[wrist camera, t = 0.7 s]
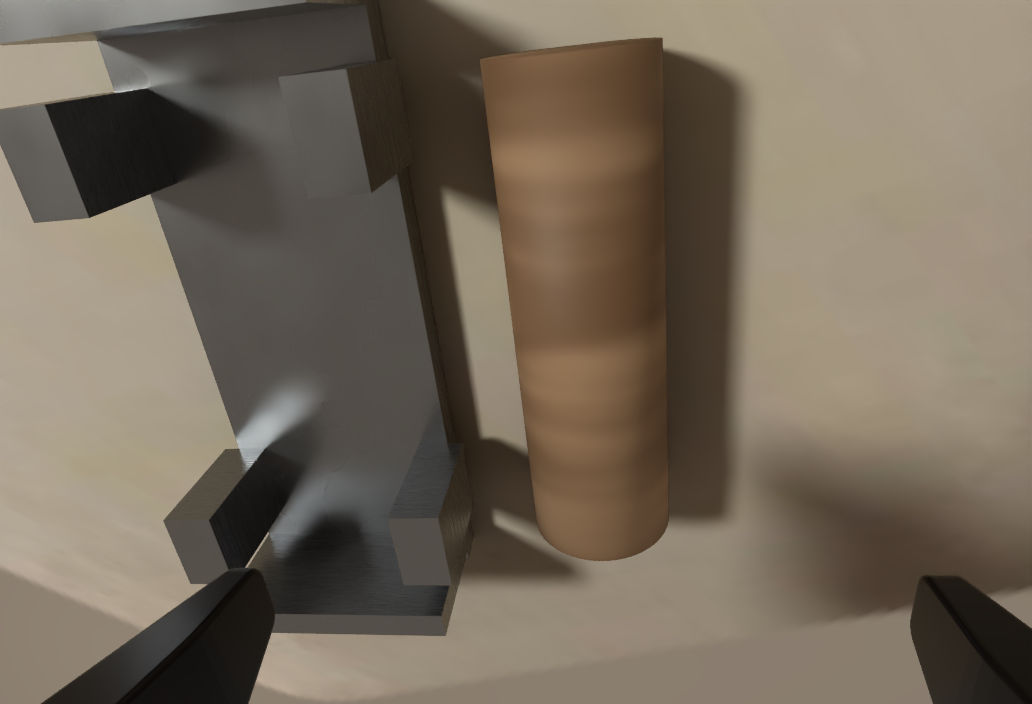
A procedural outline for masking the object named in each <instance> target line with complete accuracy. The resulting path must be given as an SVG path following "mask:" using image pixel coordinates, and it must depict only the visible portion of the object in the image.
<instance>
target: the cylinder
mask: <svg viewBox="0 0 1032 704" xmlns="http://www.w3.org/2000/svg"><path fill="white" fill-rule="evenodd" d="M480 66H481V74H482V82H483V91H484V99H485V107H486V115H487V123H488V131H489V139H490V147H491V155H492V163H493V172H494V180H495V188H496V196H497V204H498V212H499V220H500V228H501V236H502V244H503V253H504V261H505V269H506V277H507V285H508V293H509V301H510V309H511V317H512V325H513V334H514V342H515V350H516V358H517V366H518V374H519V382H520V390H521V398H522V406H523V415H524V423H525V431H526V439H527V447H528V455H529V463H530V471H531V479H532V487H533V496H534V504H535V512H536V520H537V525H538V529H539V531H540V533H541V535H542V536H543V537H544V539H545V540H546V541H547V542H548V543H549V544H550V545H551V546H553V547H554V548H556V549H557V550H559V551H561V552H563V553H565V554H567V555H570V556H573V557H576V558H580V559H585V560H593V561H611V560H618V559H623V558H627V557H631V556H634V555H636V554H639V553H641V552H643V551H645V550H646V549H648V548H650V547H651V546H652V545H654V544H655V543H656V542H657V541H658V540H659V539H660V538H661V537H662V535H663V534H664V532H665V530H666V528H667V525H668V521H669V489H668V414H667V338H666V263H665V188H664V113H663V38H640V39H628V40H617V41H607V42H598V43H590V44H581V45H573V46H564V47H556V48H547V49H539V50H531V51H524V52H517V53H511V54H504V55H498V56H493V57H487V58H483V59H480Z"/></svg>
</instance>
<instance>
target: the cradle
mask: <svg viewBox="0 0 1032 704" xmlns="http://www.w3.org/2000/svg"><path fill="white" fill-rule="evenodd" d="M78 41H97V42H98V45H99V48H100V51H101V54H102V57H103V59H104V62H105V65H106V68H107V71H108V74H109V77H110V79H111V82H112V85H113V88H114V91H115V92H110V93H102V94H95V95H88V96H82V97H75V98H69V99H62V100H56V101H50V102H43V103H37V104H30V105H24V106H17V107H11V108H4V109H0V145H1V147H2V150H3V152H4V154H5V157H6V159H7V161H8V164H9V166H10V168H11V171H12V173H13V175H14V177H15V180H16V182H17V184H18V187H19V189H20V191H21V194H22V196H23V198H24V201H25V203H26V205H27V207H28V210H29V212H30V214H31V217H32V219H33V221H34V223H38V222H49V221H60V220H72V219H83V218H90V217H93V216H96V215H98V214H101V213H103V212H106V211H108V210H111V209H113V208H116V207H118V206H121V205H123V204H126V203H129V202H131V201H134V200H136V199H139V198H141V197H144V196H146V195H149V194H151V197H152V200H153V203H154V205H155V208H156V211H157V214H158V217H159V220H160V223H161V225H162V228H163V231H164V234H165V237H166V240H167V243H168V245H169V248H170V251H171V254H172V257H173V260H174V263H175V266H176V268H177V271H178V274H179V277H180V280H181V283H182V286H183V288H184V291H185V294H186V297H187V300H188V303H189V306H190V308H191V311H192V314H193V317H194V320H195V323H196V326H197V328H198V331H199V334H200V337H201V340H202V343H203V346H204V349H205V351H206V354H207V357H208V360H209V363H210V366H211V369H212V371H213V374H214V377H215V380H216V383H217V386H218V389H219V391H220V394H221V397H222V400H223V403H224V406H225V409H226V411H227V414H228V417H229V420H230V423H231V426H232V429H233V432H234V434H235V437H236V440H237V443H238V446H239V449H225V450H224V452H223V453H222V454H221V455H220V456H219V457H218V458H217V460H216V461H215V462H214V463H213V464H212V465H211V466H210V468H209V469H208V470H207V471H206V472H205V473H204V475H203V476H202V477H201V478H200V479H199V480H198V481H197V483H196V484H195V485H194V486H193V487H192V488H191V489H190V491H189V492H188V493H187V494H186V495H185V496H184V497H183V499H182V500H181V501H180V502H179V503H178V504H177V506H176V507H175V508H174V509H173V510H172V511H171V512H170V514H169V515H168V516H167V517H166V518H165V519H164V520H163V521H164V523H165V526H166V528H167V530H168V533H169V535H170V537H171V540H172V542H173V544H174V546H175V549H176V551H177V553H178V556H179V558H180V560H181V563H182V565H183V567H184V570H185V572H186V574H187V576H188V579H189V581H190V583H191V584H209V583H210V582H212V581H213V580H215V579H216V578H217V577H219V576H220V575H222V574H223V573H224V572H226V571H228V570H230V569H233V568H245V566H246V565H247V563H248V562H249V560H250V559H251V557H252V556H253V554H254V553H255V551H256V550H257V548H258V546H259V545H260V543H261V542H262V540H263V539H264V537H265V536H266V534H267V533H268V532H269V535H268V537H267V538H266V540H265V542H264V543H263V545H262V546H261V548H260V549H259V551H258V552H257V554H256V555H255V557H254V559H253V560H252V562H251V563H250V565H249V566H248V568H255V569H258V570H259V571H260V572H261V573H262V575H263V577H264V580H265V583H266V585H267V588H268V591H269V593H270V596H271V599H272V602H273V604H274V608H275V622H274V626H273V630H272V633H316V634H370V635H424V636H446V632H447V628H448V625H449V621H450V617H451V613H452V609H453V605H454V601H455V597H456V593H457V589H458V585H459V581H460V577H461V573H462V570H463V566H464V562H465V558H469V554H470V550H471V546H472V542H473V532H472V527H471V521H470V515H471V512H472V508H473V499H472V493H471V487H470V482H469V476H468V470H467V464H466V459H465V453H464V447H463V443H457V442H456V437H455V431H454V426H453V420H452V414H451V409H450V403H449V398H448V392H447V386H446V381H445V375H444V370H443V364H442V358H441V353H440V347H439V342H438V336H437V330H436V325H435V319H434V313H433V308H432V302H431V297H430V291H429V285H428V280H427V274H426V269H425V263H424V257H423V252H422V246H421V241H420V235H419V229H418V224H417V218H416V213H415V207H414V201H413V196H412V190H411V184H410V179H409V173H408V168H407V166H408V165H409V164H410V163H412V162H413V161H414V159H413V153H412V147H411V141H410V136H409V130H408V124H407V118H406V113H405V107H404V101H403V95H402V90H401V84H400V78H399V72H398V67H397V61H396V59H388V56H387V50H386V44H385V39H384V33H383V27H382V22H381V16H380V11H379V5H378V0H0V45H18V44H38V43H58V42H78Z"/></svg>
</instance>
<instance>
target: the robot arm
mask: <svg viewBox="0 0 1032 704" xmlns="http://www.w3.org/2000/svg"><path fill="white" fill-rule="evenodd" d="M274 622H275V608H274V604H273V602H272V599H271V596H270V593H269V591H268V588H267V585H266V583H265V580H264V577H263V575H262V573H261V572H260V571H259V570H258V569H255V568H233V569H230V570H228V571H226V572H224V573H223V574H222V575H220V576H219V577H217V578H216V579H215V580H213V581H212V582H210V583H209V584H208V585H206V586H205V587H203V588H202V589H201V590H199V591H198V592H196V593H195V594H194V595H192V596H191V597H189V598H188V599H187V600H185V601H184V602H182V603H181V604H180V605H178V606H177V607H175V608H174V609H173V610H171V611H170V612H168V613H167V614H166V615H164V616H163V617H161V618H160V619H159V620H157V621H156V622H154V623H153V624H152V625H150V626H149V627H147V628H146V629H145V630H143V631H142V632H140V633H139V634H138V635H136V636H135V637H134V638H132V639H131V640H129V641H128V642H127V643H125V644H124V645H122V646H121V647H120V648H118V649H117V650H115V651H114V652H112V653H111V654H110V655H108V656H107V657H105V658H104V659H103V660H101V661H100V662H98V663H97V664H96V665H94V666H93V667H91V668H90V669H89V670H87V671H86V672H84V673H83V674H82V675H81V676H79V677H77V678H76V679H75V680H73V681H72V682H70V683H69V684H68V685H66V686H65V687H63V688H62V689H61V690H59V691H58V692H56V693H55V694H54V695H52V696H51V697H49V698H48V699H47V700H45V701H44V702H42V703H41V704H248V703H249V700H250V697H251V694H252V691H253V688H254V685H255V682H256V679H257V676H258V673H259V670H260V667H261V663H262V660H263V657H264V654H265V651H266V648H267V645H268V642H269V639H270V636H271V633H272V630H273V626H274ZM910 629H911V635H912V640H913V643H914V646H915V649H916V652H917V655H918V659H919V662H920V665H921V667H922V671H923V674H924V677H925V680H926V683H927V686H928V690H929V693H930V696H931V699H932V702H933V704H1032V629H1031V628H1030V627H1029V626H1027V625H1026V624H1025V623H1023V622H1022V621H1021V620H1019V619H1018V618H1016V617H1015V616H1014V615H1013V614H1011V613H1010V612H1008V611H1007V610H1006V609H1004V608H1003V607H1002V606H1000V605H999V604H998V603H996V602H995V601H994V600H992V599H991V598H990V597H988V596H987V595H986V594H984V593H983V592H982V591H980V590H979V589H977V588H976V587H975V586H973V585H972V584H971V583H969V582H968V581H967V580H965V579H964V578H962V577H960V576H958V575H954V574H925V575H923V576H921V578H920V579H919V582H918V585H917V590H916V595H915V600H914V605H913V610H912V614H911V620H910Z"/></svg>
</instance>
